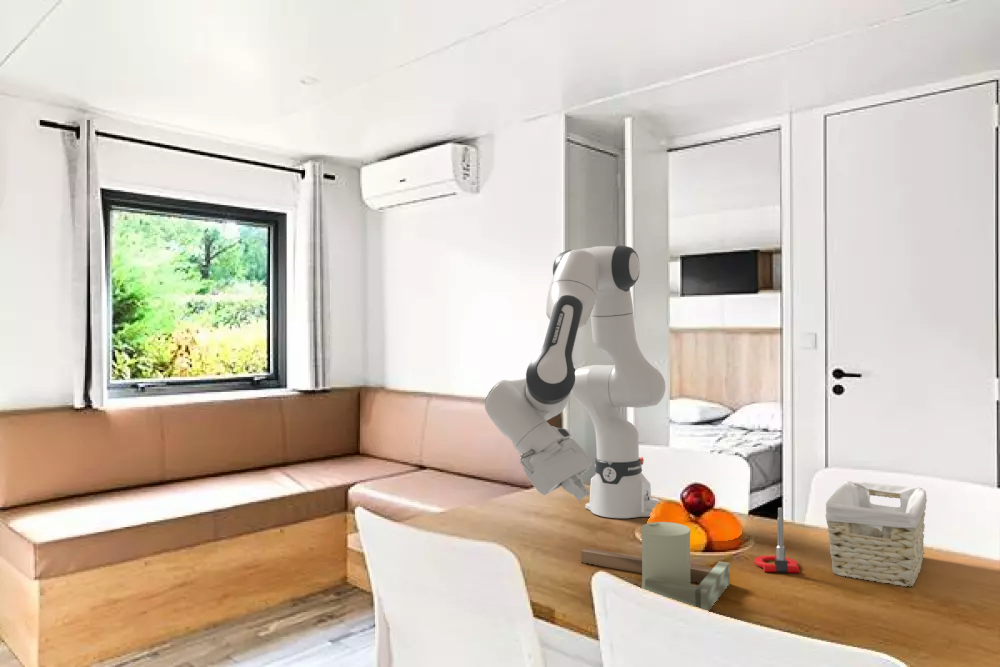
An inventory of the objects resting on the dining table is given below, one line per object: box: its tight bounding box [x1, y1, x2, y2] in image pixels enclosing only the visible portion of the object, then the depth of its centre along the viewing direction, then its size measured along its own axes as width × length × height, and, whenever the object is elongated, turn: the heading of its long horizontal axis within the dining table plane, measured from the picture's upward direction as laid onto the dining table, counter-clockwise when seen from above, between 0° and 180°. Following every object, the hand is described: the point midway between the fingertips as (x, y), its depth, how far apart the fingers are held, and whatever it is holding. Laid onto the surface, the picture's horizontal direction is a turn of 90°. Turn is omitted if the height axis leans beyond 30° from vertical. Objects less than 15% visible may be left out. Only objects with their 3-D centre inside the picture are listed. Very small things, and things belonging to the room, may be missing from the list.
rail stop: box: [580, 547, 731, 612], centre depth 138 cm, size 16×30×4 cm, turn 59°
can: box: [640, 521, 692, 589], centre depth 135 cm, size 9×9×12 cm
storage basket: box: [825, 480, 928, 588], centre depth 146 cm, size 24×16×15 cm
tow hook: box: [754, 507, 800, 574], centre depth 147 cm, size 8×13×9 cm
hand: (584, 496), depth 146 cm, fingers closed
